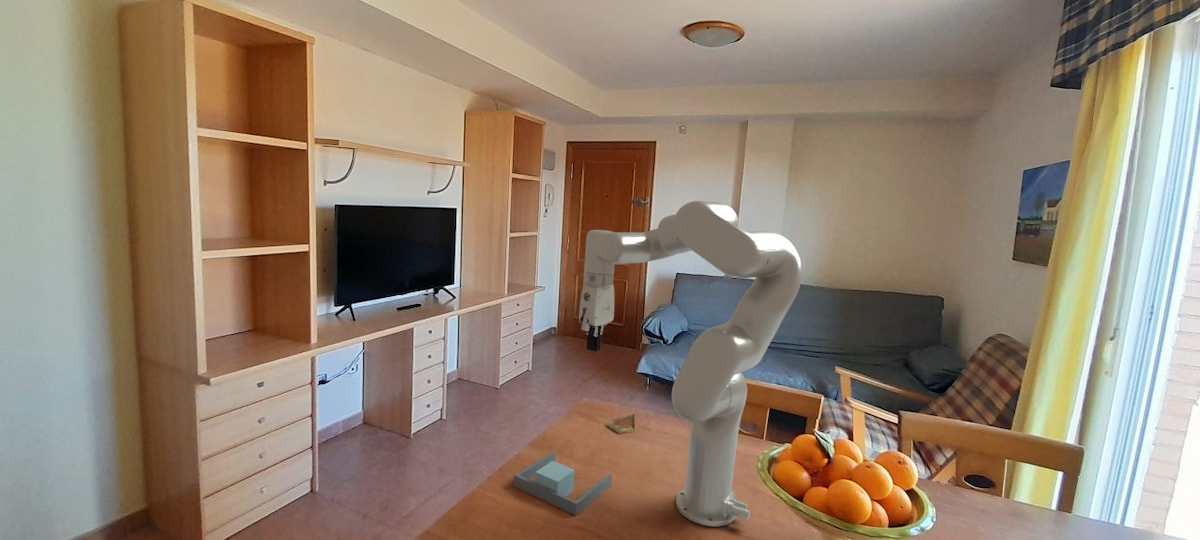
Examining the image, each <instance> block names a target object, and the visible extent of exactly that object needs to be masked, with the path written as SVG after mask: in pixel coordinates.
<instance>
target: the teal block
mask: <svg viewBox="0 0 1200 540" xmlns="http://www.w3.org/2000/svg"><path fill="white" fill-rule="evenodd" d="M534 482H536V483H538V484H540V485H542V486H544V487H547V488H549V489H551V490H553V491H555V492H557V493H560V494H562V495H564V496H566V497H568V495H570V494H571V493H572V492H573V491H574V485H575V484H574V482H575V469H574V468H571V467H568V466H566V465H564V464H562V463H559V462H557V461H556V460H555V461H551V462H550V463H548V464H547V465H545V466H544V467H542V468H541V469H539V470H538V471H536V472H535V476H534Z"/></svg>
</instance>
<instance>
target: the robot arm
mask: <svg viewBox="0 0 1200 540" xmlns="http://www.w3.org/2000/svg"><path fill="white" fill-rule="evenodd" d="M739 225H740V222H739V217H738V215H737V213H736V211H735V210H734V209H733V208H732V207H731V206H729V205H727V204H725V203H723V202H717V201H716V202H714V201H704V200H694V201H690V202H687V203H685V204H684V205H682V206H681V207H680V208H679V209H678V210H677V211H676V213H675V214H671V215H668V216H665V217H663V218H661V220H660V222H659V223H658V226H657V228H655V229H651V230H647V231H642V232H638V231H637V232H634V231H631V232H630V231H629V232H627V231H626V232H623V231H622V232H620V231H619V232H616V231H615V232H614V231H611V230H607V229H606V230H605V229H592V230H589V231H587V234H586V239H585V240H586V241H585V254H584V255H585V256H584V271H583V281H582V282H583V283H582V284H583V286H582V290H581V295H580V301H579V302H580V303H579V311H578V312H579V313H578V319H579V323H580V324H581V328H580V329H581V331H585V332H586V333H585V334H586V335H587V336H586V349H587V350H589V351H593V352H598V351H600V350H601V344H602V335H603V333H604V328H605V327H606V326H607V325H608V324H609V323H611V322H613V321H614V318H615V288H614V278H615V265H625V264H626V265H628V264H641V263H649V262H654V261H659V260H661V259H662V260H663V259H666V258H670V257H673V256H675V255H679V254H684V253H687V252H694V253H695V254H696V255H697V256H699V257H701V258H702V259H703V260H705V261H706V262H708V263H709V264H711V265H712V266H713V267H715V268H716V270H718V271H720V272H721V273H723V274H724V275H726V276H729V277H732V278H736V279H749V278H754V280H753V282H752V284H751V285H750V286H749V287H748V289H747V290H745V292H744V294H743V295H742V296H741V298H740V300H739V302H738V305H737V306H736V309H735V310H734V312H733V314H732V315H731V317H730V318H729V320H728V321H727V322H725V323H723V324H720V325H716V326H712V327H710V328H707V329H705V330H704V331H702V333H700V334H699V335H698V337H696V338H695V340H694V341H693V344H692V346H691V348H690V349H689V351H688V353H687V356H685V359H684V361H683V363H682V365H681V367H680V368H679V372H678V374H677V375H676V377H675V379H674V382H673V384H672V385H673V386H672V390H671V402H672V406H673V409H674V411H675V412H676V414H677V415H678V416H679V417H681V419H683V420H684V421H687V422H691V428H690V435H689V447H688V452H687V453H688V455H687V465H686V472H685V473H686V474H685V475H686V476H685V484H684V488H683V489H682V490H680V491H679V492H678V493H677V495H676V499H675V506H676V508H677V510H678V511H679V512H680V514H681V515H682V516H683V517H684V518H686V519H688V520H690V521H692V523H696V524H699V525H702V526H708V527H722V526H726V525H727V526H728V525H729V524H732V523H733V522H734V521H735V519H736V518H737V517H738V518H740V519H742V520H745V521H748V522H749V519H750V515H751V510H749V509H748V503H745V502H743V501H739V500H737V498H735V496H736V491H735V490H734V489H732V488H733V487H732V486H733V478H734V471H735V462H736V456H737V454H736V453H737V445H738V438H739V437H738V436H739V430H740V424H741V419H742V417H743V413H744V408H745V405H746V401H747V397H748V385H747V381H746V378H745V376H744V374H743V372H745V371H748V370H750V369H752V368H754V367H756V366H757V365H758V364H759V363H760V362H761V361H762V358H763V357H764V356H765V353H766V351H767V350H768V347H769V346H770V344H771V342H772V340H773V338H775V335H776V334H777V332H778V330H779V328H780V326H781V324H782V322H783V320H784V318H785V316H786V314H787V313H788V311H789V310H790V308H791V306H792V305H793V302H794V301H795V299H796V297H797V294H798V292H799V290H800V287H801V284H802V279H803V278H802V277H803V265H802V261H801V257H800V255H799V253H798V251H797V249H796V247H795V246H794V244H793V243H792V242H791V241H790V240H789V239H787V238H786V237H785V236H783V235H781V234H780V233H776V232H772V231H764V230H759V231H751V230H750V231H748V230H747V231H746V230H743V229H741V228H739Z"/></svg>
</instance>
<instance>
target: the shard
mask: <svg viewBox="0 0 1200 540" xmlns="http://www.w3.org/2000/svg"><path fill="white" fill-rule="evenodd" d="M635 418H636V417H635V413H633V414H630V415H628V416H627V415H626V416H622V417H618V418H615V419H612V420H609V421H607V422H606V427H608V426H609V427H608V428H610V429H612V430H614V431H615V432H617V433H618V434H622V433H623V434H624V433H635V432H636V424H635V423H636V419H635Z"/></svg>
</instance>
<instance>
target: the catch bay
mask: <svg viewBox="0 0 1200 540" xmlns="http://www.w3.org/2000/svg"><path fill="white" fill-rule="evenodd" d="M556 458H557V452H556V451H554V450H553V451H551V452H550V453H548V454H546V455H545V456H543V457H541V458H540V459H539V460H537V461H535V462H533V463H532V464H530V465H529V466H527V467H526V468H524V469H522V470H521V471H519V472H517V473H516V474H514V477H513V487H515V488H517V489H519V490H522V491H523V492H526V493H527V494H530V495H532V496H534V497H536V498H537V499H539V500H540V499H541V500H542V501H545V502H546V503H548V504H550V505H553V506H555V507H557V508H559V509H561V510H562V511H565V512H568V513H569V514H571V515H574V516H577V515H579V514H580V513H581V512H582V511H583V510H584V509H586V508H587V507H588V506H589V505H590V504H592V502H594V501H595V500H596V499H597V498H599V496H601V495H602V494H603V493H605V492H606V491H607V490H608V489H609V488H610V487H611V486H612V479H613V475H612V474H610V473H609V474H607V475H606V476H605V477H604V478H602V479H601V480H600V481H598V483H595V485H593V486H592V487H591V488H590V489H589V490H587V491H586V492H585V493H583V494H582V495H581V496H580V497H578V498H577V499H576V500H574V499H573V498H570V497H569V496H564V495H562V494H560V493H557V492H555V491H553V490H551V489H549V488H547V487H544V486H542V485H540V484H538V483H536V482H535V480H534V481H533V480H531V478H534V477H535V472H536V471H538V470H539V469H541V468H542V467H544V466H545V465H547V464H548V463H550V462H551V461H555V462H556Z"/></svg>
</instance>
